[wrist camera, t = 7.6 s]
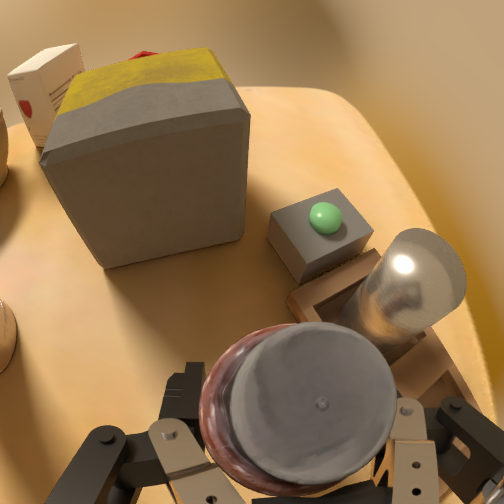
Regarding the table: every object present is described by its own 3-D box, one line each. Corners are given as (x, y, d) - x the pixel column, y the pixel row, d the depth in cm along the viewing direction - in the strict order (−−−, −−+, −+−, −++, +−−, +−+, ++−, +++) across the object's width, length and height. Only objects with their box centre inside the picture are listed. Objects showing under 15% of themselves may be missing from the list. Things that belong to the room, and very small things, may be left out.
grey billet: (359, 373, 23) (430, 332, 14) (323, 317, 26) (370, 249, 17) (406, 338, 25) (479, 284, 16) (372, 288, 28) (427, 217, 19)
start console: (298, 285, 29) (309, 257, 24) (266, 237, 31) (271, 205, 27) (360, 253, 31) (377, 224, 27) (328, 212, 34) (339, 181, 29)
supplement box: (33, 147, 39) (4, 75, 27) (65, 116, 44) (44, 48, 31) (66, 151, 38) (36, 69, 26) (99, 118, 43) (80, 41, 30)
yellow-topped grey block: (202, 115, 43) (199, 25, 30) (245, 242, 31) (254, 111, 18) (107, 135, 40) (85, 48, 28) (101, 274, 28) (33, 162, 15)
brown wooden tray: (479, 438, 20) (493, 436, 18) (412, 506, 17) (425, 510, 15) (366, 260, 30) (374, 247, 28) (285, 303, 28) (290, 291, 25)
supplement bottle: (335, 424, 15) (467, 401, 6) (254, 485, 13) (296, 569, 4) (274, 350, 18) (331, 244, 8) (191, 406, 15) (132, 372, 6)
